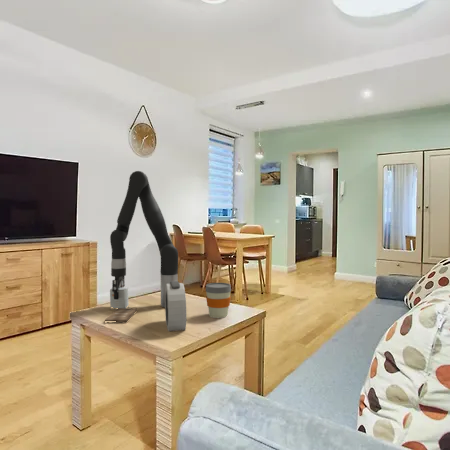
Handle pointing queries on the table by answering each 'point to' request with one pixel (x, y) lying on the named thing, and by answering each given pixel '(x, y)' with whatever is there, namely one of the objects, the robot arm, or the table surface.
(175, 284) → the alarm clock
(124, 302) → the small box
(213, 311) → the reusable coffee cup
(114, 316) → the walnut board
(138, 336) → the table surface
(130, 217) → the robot arm
